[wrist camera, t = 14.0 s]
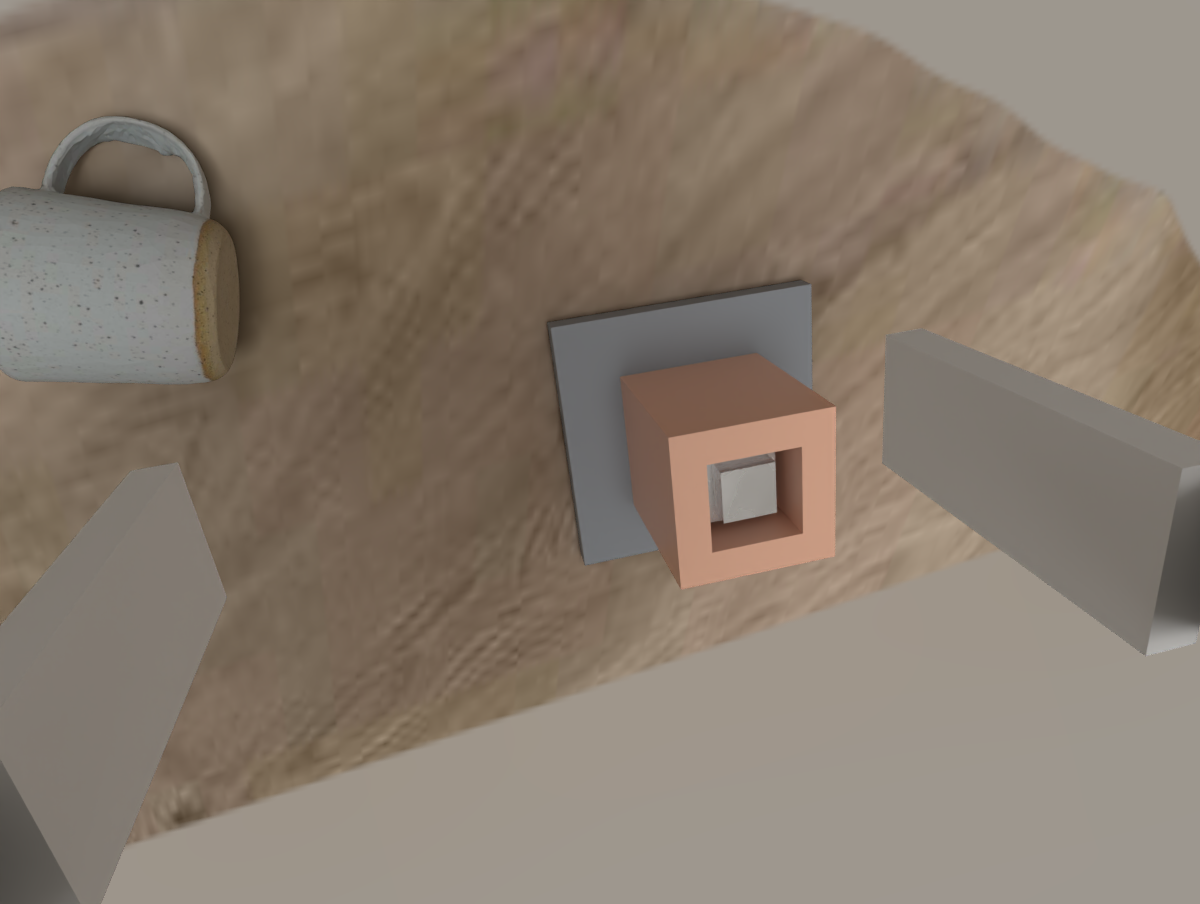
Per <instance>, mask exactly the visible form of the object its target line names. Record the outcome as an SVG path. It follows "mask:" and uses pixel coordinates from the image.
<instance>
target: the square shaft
mask: <svg viewBox="0 0 1200 904" xmlns="http://www.w3.org/2000/svg"><path fill="white" fill-rule="evenodd" d="M707 477H708V492H709V508H710V522H715V521H720V520H721V521H722V522H723V523H724V524H725V523H729V522H734V521H739V520H744V519H748V518H753V517H758V516H763V515H767V514H772V513H777V499H776V467H775V452H772V453H767V454H762V455H757V456H752V457H746V458H741V459H736V460H731V461H726V462H721V463H715V464H710V465H707Z"/></svg>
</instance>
